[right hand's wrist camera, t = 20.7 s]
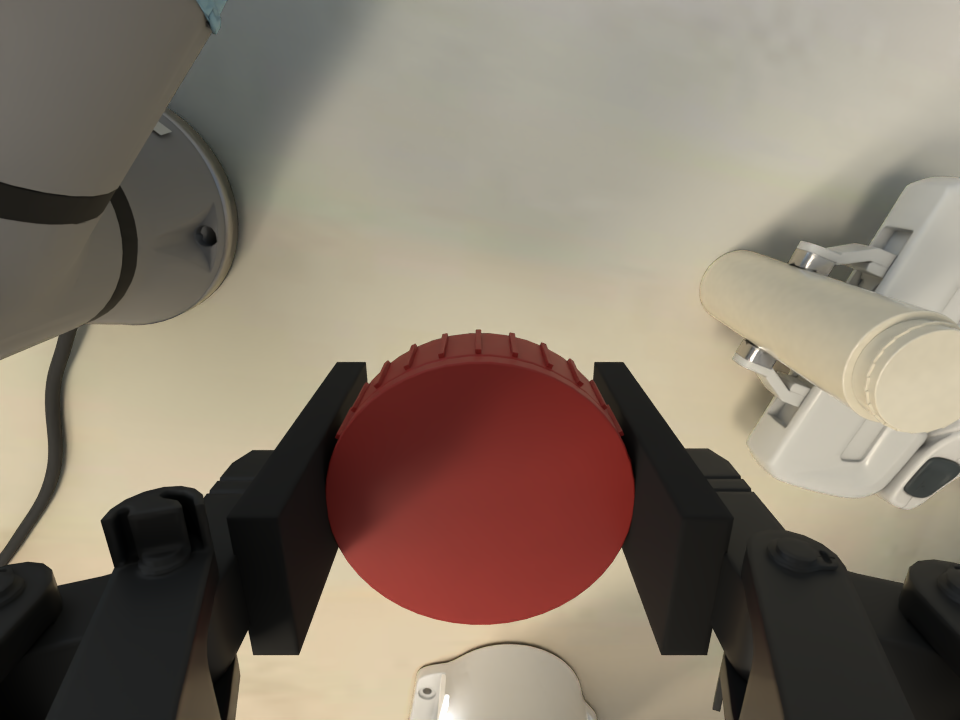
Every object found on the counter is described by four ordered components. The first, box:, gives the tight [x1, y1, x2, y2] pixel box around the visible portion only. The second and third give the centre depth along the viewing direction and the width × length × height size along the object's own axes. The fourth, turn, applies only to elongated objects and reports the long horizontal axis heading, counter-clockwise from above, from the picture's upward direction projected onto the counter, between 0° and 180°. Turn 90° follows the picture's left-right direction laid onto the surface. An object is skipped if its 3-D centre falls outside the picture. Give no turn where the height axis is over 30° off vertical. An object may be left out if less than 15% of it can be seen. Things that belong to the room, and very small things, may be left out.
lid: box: [325, 330, 635, 625], centre depth 11 cm, size 6×6×2 cm
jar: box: [700, 250, 960, 434], centre depth 30 cm, size 5×5×18 cm
